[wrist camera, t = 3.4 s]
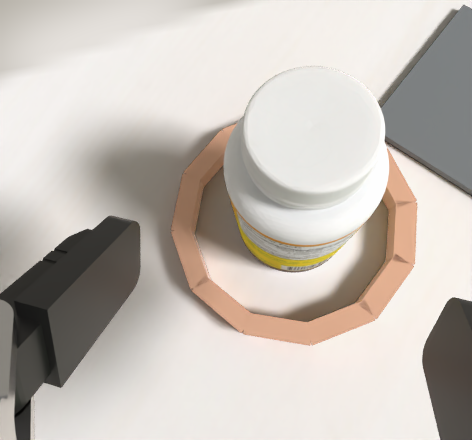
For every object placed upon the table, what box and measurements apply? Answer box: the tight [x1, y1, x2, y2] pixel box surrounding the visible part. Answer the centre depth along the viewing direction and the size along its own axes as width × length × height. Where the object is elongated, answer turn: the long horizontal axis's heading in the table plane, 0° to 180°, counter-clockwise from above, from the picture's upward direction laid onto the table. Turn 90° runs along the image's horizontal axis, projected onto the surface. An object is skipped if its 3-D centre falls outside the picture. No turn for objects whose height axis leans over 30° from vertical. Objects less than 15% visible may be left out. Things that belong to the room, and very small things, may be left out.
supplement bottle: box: [224, 66, 389, 272], centre depth 15 cm, size 6×6×10 cm
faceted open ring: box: [171, 123, 417, 346], centre depth 20 cm, size 12×12×1 cm
